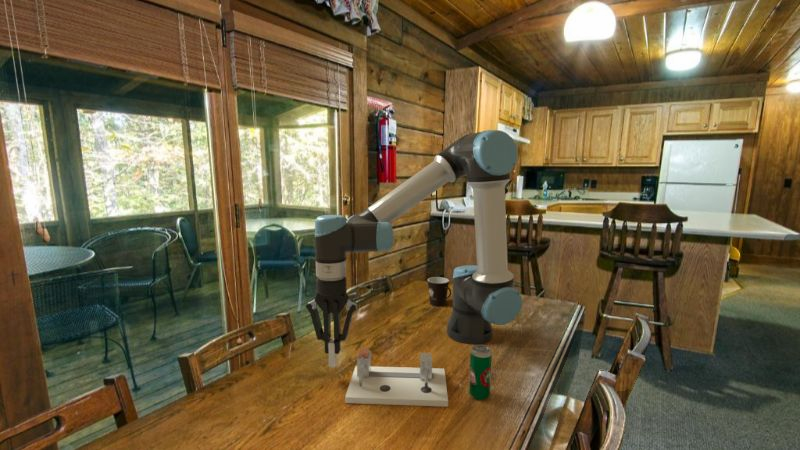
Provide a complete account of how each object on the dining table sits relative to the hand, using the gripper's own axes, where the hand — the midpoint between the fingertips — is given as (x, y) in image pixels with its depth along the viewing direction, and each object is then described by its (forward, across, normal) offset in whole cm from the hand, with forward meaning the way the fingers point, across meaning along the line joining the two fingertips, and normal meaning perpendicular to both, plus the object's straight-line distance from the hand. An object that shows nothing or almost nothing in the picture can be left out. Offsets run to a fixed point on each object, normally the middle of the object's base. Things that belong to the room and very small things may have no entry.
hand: (332, 364), depth 96 cm
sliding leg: (+2, +8, -2) cm, 9 cm away
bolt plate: (+4, +17, -3) cm, 18 cm away
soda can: (+4, +37, -5) cm, 38 cm away
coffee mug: (+4, +30, +55) cm, 63 cm away
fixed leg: (+2, +24, -2) cm, 24 cm away
